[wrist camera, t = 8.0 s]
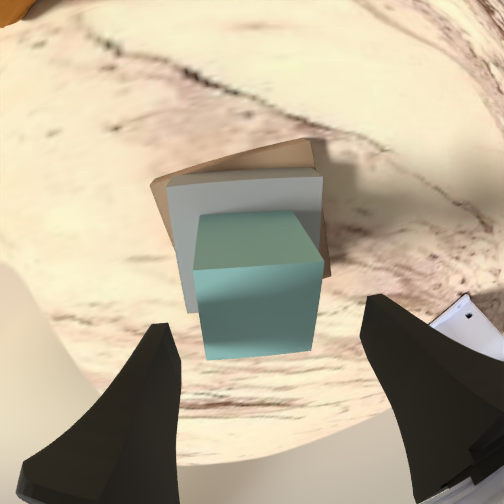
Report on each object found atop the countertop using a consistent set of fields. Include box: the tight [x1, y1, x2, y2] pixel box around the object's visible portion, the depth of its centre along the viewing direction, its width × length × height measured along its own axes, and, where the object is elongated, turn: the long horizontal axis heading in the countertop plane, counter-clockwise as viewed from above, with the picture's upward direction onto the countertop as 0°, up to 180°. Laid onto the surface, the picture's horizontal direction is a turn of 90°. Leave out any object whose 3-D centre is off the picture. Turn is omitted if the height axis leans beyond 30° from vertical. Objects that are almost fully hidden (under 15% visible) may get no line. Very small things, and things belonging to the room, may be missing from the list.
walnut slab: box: [150, 138, 331, 279], centre depth 18 cm, size 9×9×2 cm
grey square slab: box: [166, 167, 323, 313], centre depth 16 cm, size 8×8×2 cm
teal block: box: [193, 210, 325, 360], centre depth 13 cm, size 4×4×5 cm
